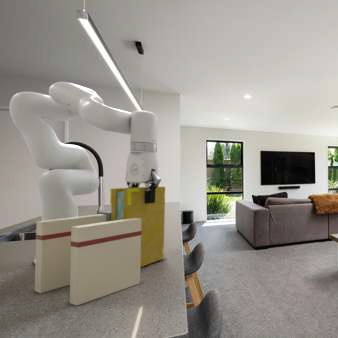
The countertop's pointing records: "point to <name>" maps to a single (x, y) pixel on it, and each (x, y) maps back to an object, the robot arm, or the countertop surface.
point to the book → (142, 218)
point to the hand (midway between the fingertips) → (141, 201)
